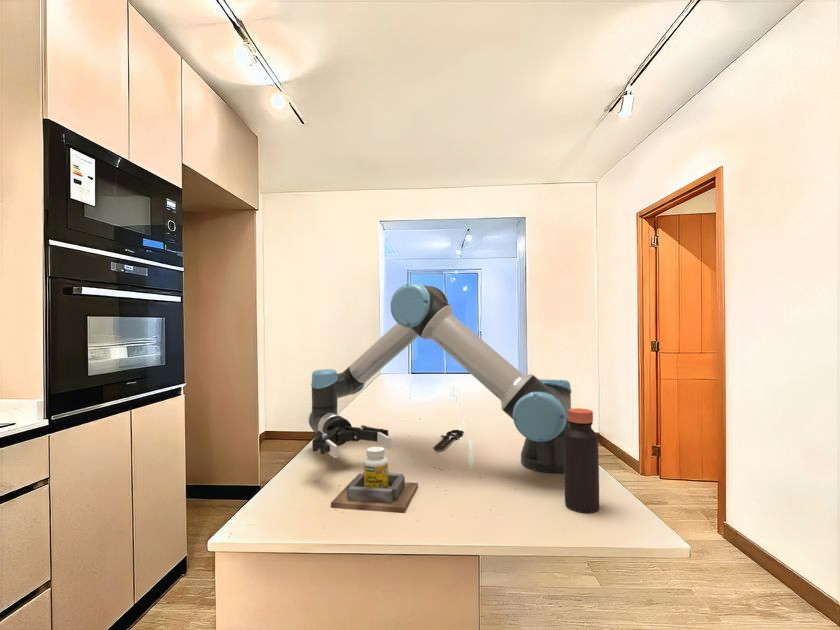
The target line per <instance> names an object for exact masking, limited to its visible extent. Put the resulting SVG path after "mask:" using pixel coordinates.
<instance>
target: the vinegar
mask: <svg viewBox="0 0 840 630" xmlns="http://www.w3.org/2000/svg"><path fill="white" fill-rule="evenodd" d="M568 421H569V423H570V427H569V428H568V429H567V430H566V431H565V433H564V475H563V477H564V504H565V506H566V507H567V508H568V509H570V510H571V511H575V512H578V513H587V514H588V513H594V512H597V511H598V510H599V509H600V466H599V465H600V463H599V462H600V461H599V459H600V457H599V436H598V434H597V433H596V432H595V431H594V429H593V428H592V426H593V424H594V423H593V422H594V411H593V410H591V409H587V408H577V407H575V408H571V409H569V410H568Z"/></svg>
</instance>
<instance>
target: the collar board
mask: <svg viewBox="0 0 840 630" xmlns="http://www.w3.org/2000/svg"><path fill="white" fill-rule="evenodd" d="M418 488H419V482H411V481H406V478H405V475H404V473H398V472H397V473H395V472H388V489H386V488H370V487H364V471H363V472H361V473H358V474H357V475H356V476H355V477H354V478H353V479H352V480H351V481H350V482H349V483H348V484H347V485H346V486H345V487H344V488H343V490H341V492H339V493H338V494H337V496H336V497H335V498H334V499H333V500H331V502H330V507H331V508H337V509H353V510H361V511H362V510H363V511H364V510H366V511H376V512H377V511H378V512H390V513H391V512H392V513H393V512H394V513H403V514H404V513H406V510H407V509H408V507H409V505H410V503H411V501H412V500H413V498H412V497H414V495H415V494H416V492H417V490H418ZM411 499H412V500H411Z"/></svg>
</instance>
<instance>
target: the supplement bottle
mask: <svg viewBox="0 0 840 630" xmlns="http://www.w3.org/2000/svg"><path fill="white" fill-rule="evenodd" d="M385 449H386V448H385V447H383V446H372V447H368V448H367V449H366V456H367V457H366V458H365V459H364V460H363V461H364V462H363V472H364V487H370V488H386V489H388V473H389V459H388V458H387V457H386V456H385V454H386V451H385Z"/></svg>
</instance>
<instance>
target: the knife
mask: <svg viewBox="0 0 840 630" xmlns="http://www.w3.org/2000/svg"><path fill="white" fill-rule="evenodd" d="M464 432H465V431H464V430H460V429H452V430H449V431H447V432H446V434H445V435H443V434H442V435H440V437H441V439H440V441H439V442H437V443H436V444H435V445H434V446H433V448H434V450H435V451H436V453H438V452H439V453H440V452H443V451H446V450H447V449H448V447H450V446H452V444H453V443H454V442H455V441H460V440H461V437H463V435H464ZM450 435H451V437H450ZM454 436H455V437H454Z"/></svg>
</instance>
